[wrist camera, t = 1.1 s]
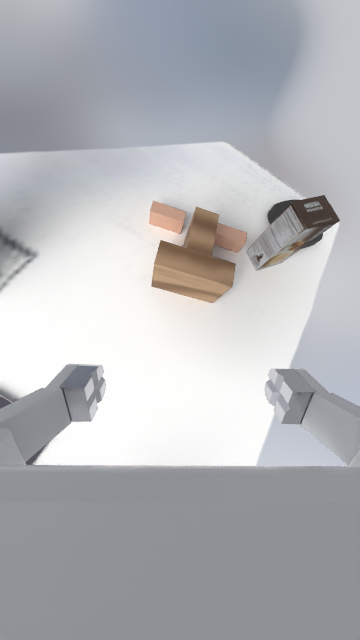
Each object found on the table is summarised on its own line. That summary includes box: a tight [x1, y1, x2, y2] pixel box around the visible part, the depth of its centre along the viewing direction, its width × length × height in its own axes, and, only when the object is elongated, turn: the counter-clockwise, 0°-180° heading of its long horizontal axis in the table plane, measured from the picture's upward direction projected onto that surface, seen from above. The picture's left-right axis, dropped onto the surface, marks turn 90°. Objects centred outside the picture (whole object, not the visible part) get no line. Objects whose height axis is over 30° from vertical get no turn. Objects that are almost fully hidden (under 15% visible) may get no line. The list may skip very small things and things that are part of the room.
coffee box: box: [247, 195, 340, 270], centre depth 42 cm, size 9×6×16 cm
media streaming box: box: [268, 200, 323, 249], centre depth 54 cm, size 15×15×3 cm
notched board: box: [149, 201, 247, 252], centre depth 45 cm, size 3×24×4 cm, turn 78°
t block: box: [152, 207, 235, 303], centre depth 40 cm, size 15×15×10 cm
